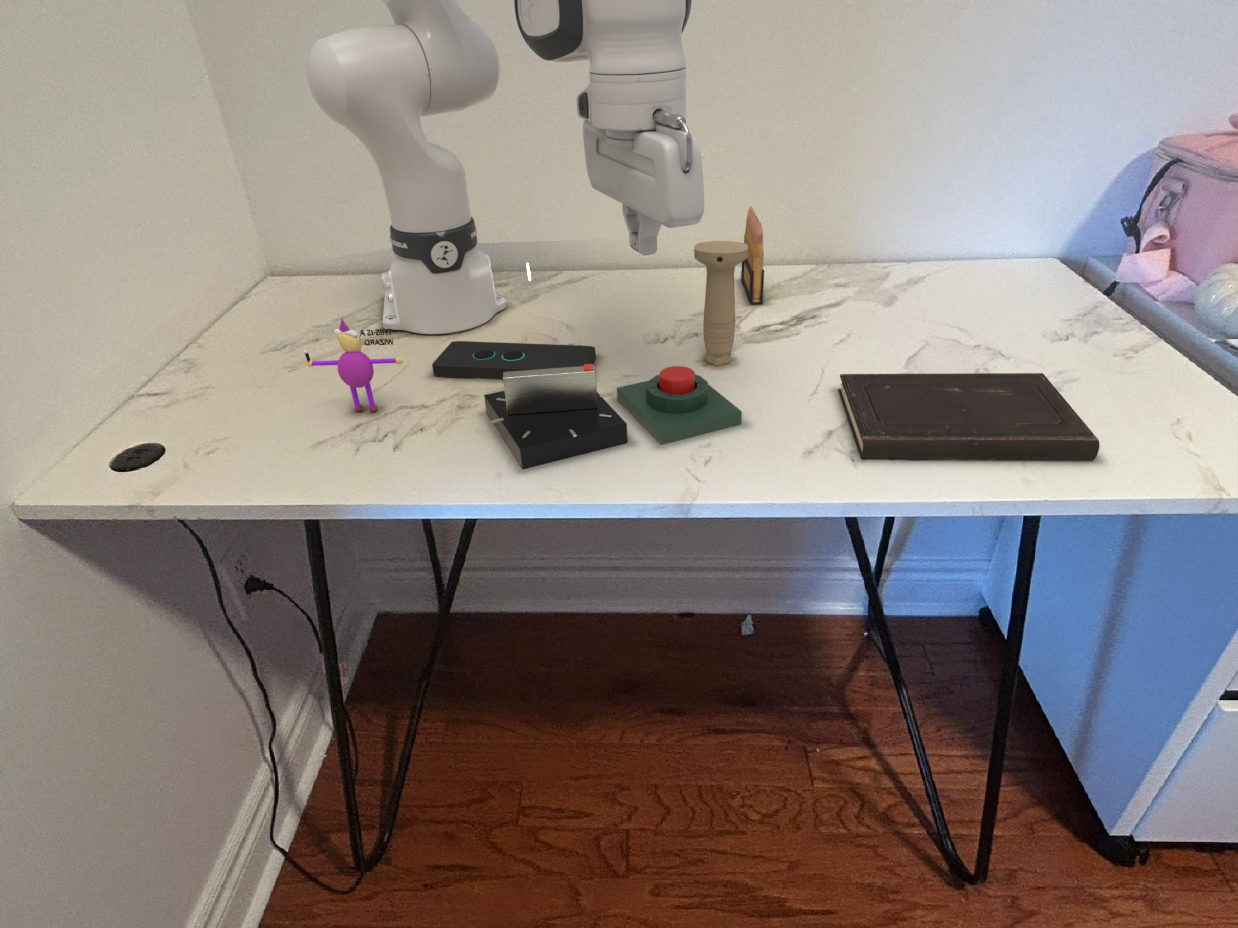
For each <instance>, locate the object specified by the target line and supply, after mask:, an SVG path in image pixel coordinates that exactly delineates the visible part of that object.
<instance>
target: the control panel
mask: <svg viewBox="0 0 1238 928" xmlns="http://www.w3.org/2000/svg"><path fill="white" fill-rule="evenodd" d="M612 396H613V394H612V393H605V394H601V395H600V393H598V391H597V404H598V408H588V409H575V410H562V411H549V412H536V413H523V414H510V415H508V414H507V406H506V398H505V390H501V391H495V392H492V393H487V394H483V399H484V404H485V411H486V412H485V413H486V415H487V417H488V418H489V420H490V423H491V424H492V425H493V426H494V427H495V429H496V431H497V432H498V433H499V436H500V437H501V438H502V440H503V441H504V443H505V444H506V446H507V448H508V449H509V451H510V452H511V454H512V455H513V457H514V458H515V460H516V462H517V463H518V465H519V466H520V468H521V470H526V469H531V468H534V467H538V466H542V465H547V464H551V463H555V462H558V461H563V460H567V459H570V458H574V457H578V456H582V455H586V454H590V453H594V452H598V451H602V450H606V449H610V448H615V447H617V446H618V447H619V446H622V445H625V444H628V424H627V422H626V421H625V420H624V419H623V418H622V417H621V415H620V414H619V413H617V412H616V411H615V410H614V408H613V407H612V406H611V405H610V404H609V403H608V402H607V400H606V399H604V398H607V397H608V398H609V397H612Z"/></svg>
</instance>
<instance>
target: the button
mask: <svg viewBox="0 0 1238 928" xmlns="http://www.w3.org/2000/svg"><path fill="white" fill-rule="evenodd" d="M695 374H696V373H695V370H693V369H692V368H691V367H688V366H683V365H672V366H667V367H664V368H663V369H661V370H660V371H659V374H658V375H659V387H660V390H661V392H665V393H668V394H685V393H689V392H692V391H693V390H694V389H695Z"/></svg>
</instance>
